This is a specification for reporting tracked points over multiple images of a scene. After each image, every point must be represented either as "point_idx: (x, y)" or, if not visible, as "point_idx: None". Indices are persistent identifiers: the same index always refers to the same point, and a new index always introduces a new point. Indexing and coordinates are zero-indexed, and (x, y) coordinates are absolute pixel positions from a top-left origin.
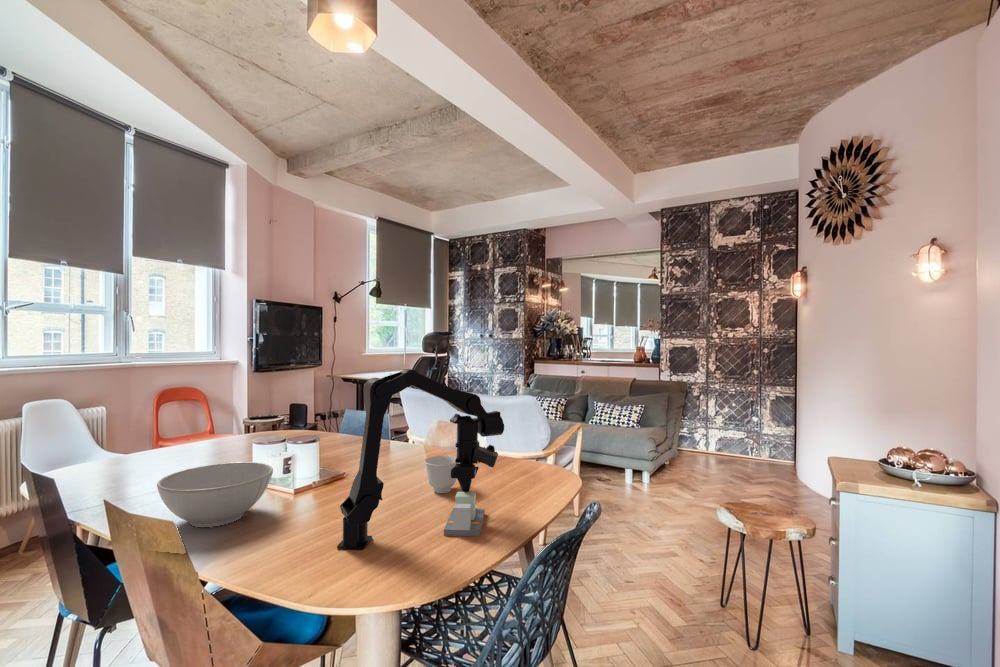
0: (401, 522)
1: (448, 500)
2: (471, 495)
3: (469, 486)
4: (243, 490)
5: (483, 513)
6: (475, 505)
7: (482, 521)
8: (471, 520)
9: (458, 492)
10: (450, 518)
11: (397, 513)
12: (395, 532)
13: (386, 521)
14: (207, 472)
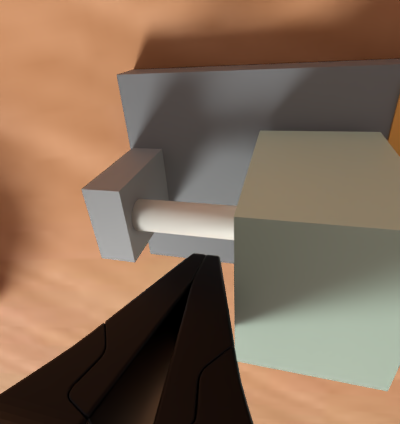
0: (276, 387)
1: (32, 258)
2: (378, 263)
3: (230, 332)
4: None
5: (206, 72)
6: (264, 155)
7: (294, 64)
8: None
9: (259, 357)
10: None
11: None
12: (373, 405)
13: (268, 415)
14: None
